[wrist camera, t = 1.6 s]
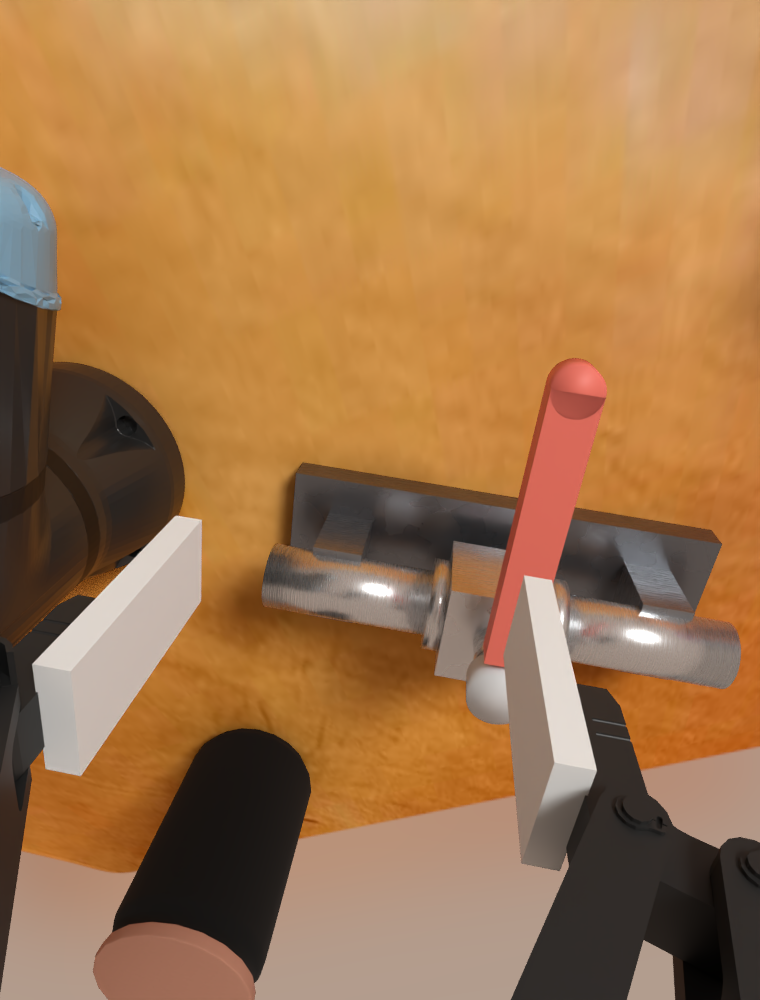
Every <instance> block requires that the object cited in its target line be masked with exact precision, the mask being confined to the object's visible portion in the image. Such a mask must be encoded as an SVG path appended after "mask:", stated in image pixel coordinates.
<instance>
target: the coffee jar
mask: <svg viewBox="0 0 760 1000" xmlns="http://www.w3.org/2000/svg"><path fill="white" fill-rule="evenodd" d="M310 794H311V786H310V777H309V773H308V771H307V769H306V766H305V764H304V762H303V761H302V759H301V757H300V755H299V753H298V752H297V751H296V750H295V749H294V748H293V747H292V746H291V745H290V744H289V743H287V742H286V741H284V740H282V739H281V738H279V737H277V736H275V735H274V734H270V733H267V732H264V731H261V730H256V729H237V730H232V731H227V732H225V733H223V734H220V735H218V736H217V737H215V738H213V739H211V740H210V741H208V742H207V743H205V744H204V745H203V746H202V748H201V749H200V750H199V752H198V753H197V754H196V756H195V758H194V760H193V762H192V764H191V766H190V768H189V770H188V772H187V773H186V775H185V777H184V779H183V781H182V783H181V785H180V787H179V789H178V791H177V793H176V795H175V797H174V799H173V801H172V803H171V805H170V807H169V809H168V811H167V813H166V815H165V817H164V819H163V821H162V823H161V825H160V827H159V829H158V831H157V833H156V835H155V837H154V839H153V841H152V843H151V845H150V847H149V849H148V851H147V853H146V855H145V857H144V859H143V861H142V863H141V865H140V867H139V869H138V871H137V873H136V875H135V877H134V879H133V881H132V883H131V885H130V887H129V889H128V891H127V893H126V895H125V897H124V899H123V901H122V903H121V905H120V907H119V909H118V911H117V913H116V916H115V919H114V925H113V931H112V933H111V934H110V935H109V937H108V938H107V939H106V940H105V941H104V943H103V944H102V945H101V947H100V948H99V950H98V952H97V954H96V956H95V962H94V968H93V973H94V976H95V979H96V982H97V985H98V987H99V989H100V990H101V991H102V992H103V994H104V995H105V996H106V997H107V998H108V1000H254V998H255V993H256V992H255V986H254V983H255V982H256V981H257V980H258V978H259V976H260V974H261V971H262V969H263V966H264V963H265V960H266V956H267V952H268V949H269V945H270V941H271V938H272V934H273V931H274V927H275V923H276V919H277V916H278V912H279V908H280V905H281V901H282V897H283V894H284V890H285V886H286V883H287V879H288V875H289V871H290V868H291V864H292V860H293V857H294V853H295V849H296V845H297V842H298V838H299V834H300V831H301V827H302V823H303V820H304V816H305V812H306V808H307V805H308V801H309V797H310Z"/></svg>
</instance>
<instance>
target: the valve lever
mask: <svg viewBox="0 0 760 1000" xmlns="http://www.w3.org/2000/svg"><path fill="white" fill-rule="evenodd" d="M606 394H607V387H606V383H605V381H604V379H603V377H602V376H601V375H600V373H599V372H598V371H597V370H596V369H595V367H594V366H593V365H592V364H590V363H589V362H587V361H585V360H583V359H578V358H572V359H567V360H564V361H562V362H560V363H558V364H557V365H556V366H555V367H554V368H553V369H552V370H551V372H550V373H549V375H548V377H547V381H546V385H545V389H544V393H543V397H542V402H541V406H540V410H539V414H538V418H537V422H536V427H535V431H534V435H533V439H532V443H531V447H530V452H529V456H528V460H527V464H526V468H525V472H524V476H523V481H522V485H521V489H520V493H519V497H518V501H517V506H516V510H515V514H514V518H513V522H512V526H511V531H510V535H509V539H508V543H507V547H506V551H505V556H504V560H503V564H502V568H501V572H500V576H499V580H498V585H497V589H496V593H495V597H494V601H493V605H492V610H491V614H490V618H489V622H488V626H487V630H486V635H485V639H484V643H483V650H484V654H483V655H480V656H478V657H477V658H475V659H474V660H473V661H472V662H471V663H470V665H469V666H468V669H467V672H466V702H467V706H468V708H469V710H470V711H471V713H472V714H473V715H474V716H476V717H477V718H478V719H480V720H482V721H484V722H487V723H491V724H508V723H509V715H508V703H507V691H506V680H505V668H504V656H503V655H504V651H505V647H506V643H507V639H508V635H509V632H510V628H511V624H512V620H513V616H514V612H515V608H516V604H517V601H518V597H519V593H520V589H521V585H522V581H523V577H524V575H525V576H531V577H537V578H543V579H549V580H552V583H553V582H554V579H555V575H556V572H557V568H558V565H559V561H560V558H561V554H562V551H563V547H564V544H565V540H566V536H567V533H568V529H569V526H570V522H571V519H572V515H573V512H574V508H575V505H576V501H577V498H578V494H579V491H580V487H581V484H582V480H583V476H584V473H585V469H586V466H587V462H588V459H589V455H590V452H591V448H592V445H593V441H594V438H595V434H596V431H597V427H598V424H599V420H600V416H601V413H602V409H603V406H604V402H605V399H606Z"/></svg>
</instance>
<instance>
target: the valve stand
mask: <svg viewBox="0 0 760 1000" xmlns="http://www.w3.org/2000/svg"><path fill="white" fill-rule="evenodd" d="M517 501H518V498H514V497H508V496H502V495H496V494H490V493H484V492H478V491H472V490H466V489H460V488H454V487H447V486H441V485H435V484H429V483H423V482H417V481H411V480H405V479H399V478H393V477H387V476H381V475H375V474H369V473H363V472H357V471H351V470H345V469H339V468H333V467H327V466H321V465H315V464H309V463H302V465H301V466H300V468H299V469H298V471H297V472H296V481H295V493H294V506H293V519H292V532H291V545H290V546H289V545H283V544H275V545H274V546H273V548H272V550H271V552H270V555H269V558H268V561H267V565H266V569H265V573H264V579H263V586H262V603H263V606H264V607H270V608H275V609H281V610H287V611H292V612H298V613H303V614H307V615H312V616H317V617H323V618H328V619H334V620H340V621H345V622H351V623H359V624H364V625H370V626H375V627H381V628H386V629H392V630H397V631H403V632H408V633H414V634H420V635H422V638H421V648H422V649H428V650H433V651H436V656H435V670H434V675H436V676H442V677H447V678H452V679H458V680H463V681H466V672H467V669H468V666H469V665H470V663H471V662H472V661H473V660H474V659H475V658H477V657H478V656H480V655H483V654H484V650H483V643H484V639H485V635H486V630H487V626H488V622H489V618H490V614H491V610H492V605H493V601H494V597H495V593H496V589H497V585H498V580H499V576H500V572H501V568H502V564H503V560H504V556H505V551H506V547H507V543H508V539H509V535H510V531H511V526H512V522H513V518H514V514H515V510H516V506H517ZM721 546H722V543H721V542H720V541H719V540H718V538H717V537H716V536H715V534H714V533H713V532H712V531H711V530H707V529H701V528H695V527H689V526H682V525H676V524H670V523H664V522H658V521H652V520H646V519H640V518H634V517H628V516H622V515H616V514H610V513H604V512H598V511H592V510H586V509H580V508H574V512H573V515H572V519H571V522H570V526H569V529H568V533H567V536H566V540H565V544H564V547H563V551H562V554H561V558H560V561H559V565H558V568H557V572H556V575H555V579H554V582H553V587H554V591H555V595H556V600H557V604H558V608H559V612H560V617H561V621H562V625H563V629H564V633H565V638H566V642H567V646H568V650H569V655H570V659H571V662H575V663H580V664H586V665H591V666H597V667H603V668H608V669H614V670H619V671H622V672H628V673H633V674H639V675H644V676H650V677H655V678H661V679H667V680H668V679H669V680H675V681H680V682H686V683H691V684H697V685H702V686H708V687H713V688H719V689H725V688H727V687H729V686H730V685H731V684H732V682H733V681H734V679H735V677H736V675H737V672H738V669H739V665H740V657H741V646H740V640H739V636H738V633H737V631H736V629H735V627H734V626H733V625H732V624H731V623H729V622H725V621H719V620H714V619H708V618H702V617H696V616H694V614H695V610H696V608H697V605H698V603H699V600H700V598H701V595H702V593H703V590H704V588H705V585H706V583H707V580H708V578H709V575H710V573H711V570H712V568H713V565H714V563H715V560H716V558H717V556H718V553H719V551H720V548H721Z"/></svg>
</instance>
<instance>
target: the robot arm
mask: <svg viewBox="0 0 760 1000" xmlns="http://www.w3.org/2000/svg"><path fill="white" fill-rule="evenodd" d="M58 310H61V297H60V296H59V294H58V293H57V228H56V222H55V219H54V216H53V213H52V211H51V209H50V207H49V205H48V204H47V202H46V201H45V199H44V198H43V197H42V195H41V194H40V193H39V192H38V191H37V190H36V189H35V188H34V187H32V186H31V185H30V184H29V183H28V182H26V181H25V180H23V179H22V178H20V177H18V176H17V175H15V174H13V173H11V172H9V171H7V170H5V169H3V168H1V167H0V990H1V983H2V977H3V970H4V962H5V956H6V950H7V943H8V936H9V929H10V923H11V916H12V909H13V903H14V895H15V888H16V882H17V875H18V869H19V862H20V855H21V849H22V842H23V835H24V828H25V822H26V815H27V808H28V801H29V795H30V788H31V781H32V778H31V771H30V765H31V763H32V762H33V761H34V760H35V758H36V757H37V756H38V755H39V753H40V752H41V751H42V750H43V752H44V760H45V768H46V769H48V770H53V771H58V772H63V773H68V774H73V775H78V776H81V775H82V774H83V772H84V771H85V769H86V768H87V766H88V765H89V763H90V762H91V761H92V759H93V758H94V756H95V755H96V753H97V752H98V750H99V749H100V747H101V746H102V745H103V743H104V742H105V740H106V739H107V737H108V736H109V734H110V733H111V731H112V730H113V729H114V727H115V726H116V724H117V723H118V721H119V720H120V718H121V717H122V715H123V714H124V712H125V711H126V710H127V708H128V707H129V705H130V704H131V702H132V701H133V699H134V698H135V696H136V695H137V694H138V692H139V691H140V689H141V688H142V686H143V685H144V683H145V682H146V680H147V679H148V678H149V676H150V675H151V673H152V672H153V670H154V669H155V667H156V666H157V664H158V663H159V661H160V660H161V659H162V657H163V656H164V654H165V653H166V651H167V650H168V648H169V647H170V645H171V644H172V643H173V641H174V640H175V638H176V637H177V635H178V634H179V632H180V631H181V629H182V628H183V627H184V625H185V624H186V622H187V621H188V619H189V618H190V616H191V615H192V613H193V612H194V611H195V609H196V608H197V606H198V605H199V603H200V602H201V556H202V520H199V519H193V518H188V517H182V516H178V514H179V512H180V509H181V506H182V502H183V498H184V489H185V477H184V468H183V463H182V459H181V455H180V452H179V449H178V446H177V444H176V441H175V439H174V437H173V435H172V433H171V431H170V429H169V428H168V426H167V424H166V423H165V421H164V420H163V418H162V417H161V416H160V414H159V413H158V412H157V410H156V409H155V408H154V407H153V406H152V405H151V404H150V403H149V402H148V401H147V400H146V399H145V398H144V397H143V396H142V395H141V394H140V393H139V392H137V391H136V390H135V389H134V388H132V387H131V386H130V385H128V384H127V383H125V382H124V381H122V380H120V379H119V378H117V377H115V376H113V375H111V374H109V373H107V372H105V371H102V370H100V369H97V368H94V367H91V366H87V365H83V364H78V363H70V362H53V354H54V341H55V328H56V315H57V311H58ZM127 564H128V565H127ZM124 565H127V566H126V568H125V569H124V570H123V571H122V572H121V573H120V574H119V575H118V576H117V577H116V578H115V579H114V580H113V581H112V582H111V583H110V584H109V585H108V586H107V587H106V588H105V589H104V590H103V591H102V592H101V593H100V594H99V595H98V596H97V598H92V597H87V596H81V595H77V596H75V597H73V598H71V599H69V600H67V601H65V602H63V603H61V604H59V605H57V604H58V603H59V602H60V601H61V600H62V599H64V598H65V597H66V596H67V595H68V594H69V593H70V592H71V591H72V590H73V589H74V588H75V587H76V586H77V585H78V584H79V583H80V582H81V581H83V580H85V579H88V578H91V577H94V576H97V575H99V574H102V573H105V572H108V571H110V570H113V569H115V568H119V567H122V566H124ZM56 605H57V606H56ZM55 606H56V607H55ZM54 607H55V608H54ZM53 608H54V609H53ZM52 609H53V610H52ZM51 610H52V611H51ZM50 611H51V612H50ZM49 612H50V613H49ZM48 613H49V614H48ZM47 614H48V615H47ZM46 615H47V616H46ZM45 616H46V617H45ZM44 617H45V618H44ZM43 618H44V620H43V621H41V620H42V619H43ZM40 621H41V622H40ZM35 625H36V626H35ZM34 626H35V627H34ZM33 627H34V628H33ZM32 628H33V629H32ZM31 629H32V632H29V631H30V630H31ZM28 632H29V633H28ZM27 633H28V634H27ZM26 634H27V635H26ZM25 635H26V636H25ZM24 636H25V637H24ZM23 637H24V638H23ZM22 638H23V639H22ZM21 639H22V640H21ZM20 640H21V641H20ZM19 641H20V642H19ZM18 642H19V643H18ZM503 656H504V668H505V680H506V691H507V703H508V715H509V726H510V738H511V750H512V761H513V773H514V784H515V796H516V807H517V819H518V830H519V843H520V854H521V863H522V864H527V865H532V866H537V867H542V868H548V869H552V870H557V871H560V869H561V866H562V864H563V861H564V858H565V856H566V853H567V856H568V862H569V868H568V870H567V873H566V875H565V877H564V880H563V882H562V884H561V886H560V889H559V891H558V893H557V896H556V898H555V900H554V903H553V905H552V907H551V909H550V912H549V914H548V916H547V918H546V921H545V923H544V926H543V927H542V930H541V932H540V934H539V937H538V939H537V942H536V944H535V946H534V948H533V950H532V953H531V955H530V957H529V959H528V962H527V964H526V966H525V969H524V971H523V973H522V976H521V978H520V980H519V982H518V985H517V987H516V989H515V991H514V994H513V996H512V999H511V1000H627V996H628V993H629V989H630V986H631V982H632V979H633V975H634V971H635V968H636V964H637V961H638V957H639V954H640V950H641V947H642V943H643V940H645V941H647V942H649V943H651V944H653V945H655V946H656V947H658V948H660V949H662V950H664V951H666V952H668V953H670V954H672V955H673V966H674V967H673V968H674V985H675V1000H760V843H759V842H757V841H755V840H750V839H746V838H741V837H738V838H732V839H728V840H727V841H726V842H725V843H724V844H723V845H722V846H721V848H720V849H718V848H716V847H713V846H711V845H709V844H707V843H705V842H702V841H700V840H698V839H696V838H694V837H692V836H689V835H687V834H686V833H684V832H682V831H680V830H678V829H677V828H676V827H674V826H673V824H672V822H671V820H670V818H669V816H668V814H667V812H666V811H665V810H664V808H663V807H662V806H661V805H660V804H659V803H658V802H657V801H656V800H655V799H653V798H652V797H651V796H649V795H648V793H647V790H646V787H645V783H644V780H643V777H642V774H641V771H640V768H639V764H638V761H637V758H636V755H635V752H634V749H633V745H632V742H630V736H629V733H628V730H627V727H625V725H626V723H625V720H624V717H623V714H622V710H621V707H620V705H619V704H618V703H617V702H616V700H615V699H614V698H613V697H612V696H611V694H610V693H609V692H608V691H607V689H603V688H597V687H592V686H586V685H581V684H576V680H575V676H574V672H573V667H572V663H571V659H570V655H569V650H568V646H567V642H566V638H565V633H564V629H563V625H562V621H561V617H560V612H559V608H558V604H557V600H556V595H555V591H554V587H553V583H552V580H549V579H543V578H537V577H531V576H525V575H524V577H523V581H522V585H521V589H520V593H519V597H518V601H517V604H516V608H515V612H514V616H513V620H512V624H511V628H510V632H509V635H508V639H507V643H506V647H505V651H504V655H503Z"/></svg>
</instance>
